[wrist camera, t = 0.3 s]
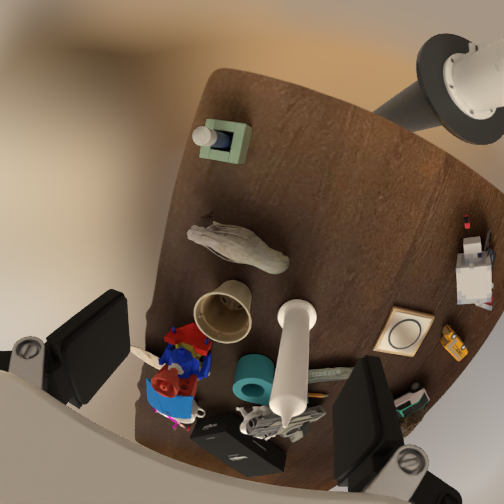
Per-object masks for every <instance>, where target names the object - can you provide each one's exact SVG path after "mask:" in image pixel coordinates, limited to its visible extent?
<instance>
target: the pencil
mask: <svg viewBox="0 0 504 504" xmlns="http://www.w3.org/2000/svg"><path fill="white" fill-rule="evenodd" d="M327 396H328V395H325V394H322V393H308V397H327Z"/></svg>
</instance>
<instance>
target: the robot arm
mask: <svg viewBox="0 0 504 504" xmlns="http://www.w3.org/2000/svg"><path fill="white" fill-rule="evenodd" d="M475 51H476V47H475V44H474V43H469V52H468V53H466V54H462V53H457V54H453V55H451V56H450V57H449V58H448V59H447V60H446V61H445V63H444V67H443V78H444V83H445V86H446V89H447V91H448V93H449V95H450V97H451V99H452V100H453V101H454V103H455V104H456V105H457V106H458V108H459V109H460V110H461V111H463V112H464V113H465V114H466V115H468V116H469V117H472V118H474V119H479V120H481V119H487V118H489V117H491V116H492V115H493V114H494V112H495V110H496V108H498V107H503V106H504V37H502V38H500V39H498V40H496V41H494V42H493V43H491V44H489V45H487V46H485V45H483V44H478V51H476V52H475ZM46 340H47V342H46V343H45V344H44V343H43V341H42V340H41V339H39V338H36V337H32V336H29V337H24V338H21V339H20V340H18V341H17V342H16V343H15V345H14V347H13V350H12V351H0V504H462V498H461V495H460V494H459V492H458V491H457V490H455V489H454V488H452V487H451V486H449V485H448V484H446V483H445V482H443V481H442V480H441V479H439V478H438V477H436V476H435V475H433V474H432V473H430V472H429V471H428V470H427V469H428V466H429V459H428V456H427V454H426V453H425V452H424V450H422V449H421V448H420V447H418V446H415V445H410V444H409V445H404V440H403V436H402V431H401V427H400V423H399V419H398V415H397V411H396V407H395V403H394V399H393V396H392V393H391V392H390V391H389V387H388V384H387V380H386V377H385V373H384V370H383V367H382V363H381V360H380V358H379V357H375V356H369V355H365V356H364V357H363V358H359V359H358V361H357V363H356V365H355V367H354V369H353V370H352V372H351V374H350V376H349V378H348V380H347V382H346V383H345V385H344V387H343V389H342V391H341V392H340V394H339V396H338V398H337V399H336V401H335V403H334V405H333V439H334V479H338V486H347V487H348V492H337V491H336V492H335V491H320V490H309V489H299V488H291V487H283V486H276V485H270V484H264V483H258V482H253V481H248V480H244V479H239V478H235V477H231V476H227V475H223V474H219V473H215V472H212V471H208V470H205V469H201V468H198V467H195V466H192V465H189V464H186V463H183V462H180V461H177V460H174V459H172V458H169V457H166V456H164V455H161V454H159V453H156V452H153V451H151V450H149V449H146V448H144V447H142V446H140V445H138V444H135V443H133V442H131V441H129V440H127V439H125V438H123V437H120V436H118V435H117V434H115V433H113V432H111V431H109V430H107V429H105V428H103V427H101V426H99V425H98V424H96V423H94V422H92V421H91V420H89V419H87V418H86V417H84V416H82V415H81V414H79V413H77V412H76V411H74V410H72V409H71V408H69V407H67V406H66V404H67V403H68V402H69V403H71V404H72V405H74V406H75V407H77V408H79V409H80V407H81V406H82V404H87V403H88V402H89V401H90V400H91V398H92V397H93V396H94V395H95V394H96V392H97V391H98V390H99V389H100V388H101V386H102V385H103V384H104V383H105V382H106V380H107V379H108V378H109V377H110V376H111V374H112V373H113V372H114V371H115V370H116V369H117V367H118V366H119V365H120V364H121V363H122V362H123V360H124V359H125V358H126V357H127V356H128V354H129V352H130V336H129V324H128V308H127V299H126V298H125V296H124V294H123V293H121V292H119V291H116V290H113V289H110V290H108V291H107V292H105V293H104V294H102V295H101V296H100V297H99V298H97V299H96V300H94V301H93V302H92V303H90V304H89V305H88V306H86V307H85V308H84V309H82V310H81V311H80V312H78V313H77V314H76V315H74V316H73V317H72V318H71V319H69V320H68V321H67V322H66V323H64V324H63V325H62V326H60V327H59V328H58V329H56V330H55V331H54V332H53V333H52V334H50V335H49V336H48V337H47V338H46Z"/></svg>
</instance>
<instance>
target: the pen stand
mask: <svg viewBox="0 0 504 504" xmlns="http://www.w3.org/2000/svg"><path fill="white" fill-rule="evenodd" d="M205 127H207V128H210V129H213V130H215V131H218V132H221V133H231V134H233V139H232V144H231V149H230V152H228V151H223V150H220V148H218V147H211V146H201V150H200V155H199V157H200V158H206V159H212V160H218V161H224V162H229V163H235V164H245V162H246V157H247V152H248V147H249V142H250V137H251V133H252V128H251V127H250V126H248V125H247V124H244V123H238V122H231V121H223V120H216V119H206V124H205Z"/></svg>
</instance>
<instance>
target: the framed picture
mask: <svg viewBox="0 0 504 504" xmlns="http://www.w3.org/2000/svg"><path fill="white" fill-rule="evenodd" d="M434 318H435V316H434V315H432V314H427V313H423V312H418V311H414V310H410V309H405V308H401V307H396V306H393V307H392V309H391V312H390V314H389V316H388V318H387V320H386V322H385V324H384V326H383V329H382V331H381V333H380V335H379V337H378V339H377V341H376V342H375V344H374V346H373V350H375V351H380V352H386V353H392V354H398V355H405V356H412V357H413V356H414V355H415V353H416V351H417V349H418V348H419V346H420V344H421V342H422V341H423V339H424V337H425V335H426V333H427V332H428V330H429V328H430V326H431V324H432V322H433V320H434Z"/></svg>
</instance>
